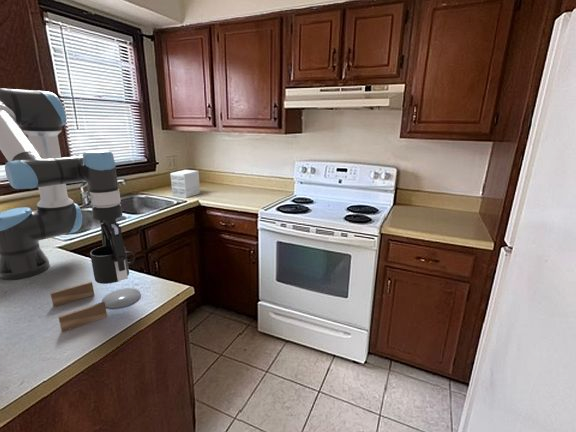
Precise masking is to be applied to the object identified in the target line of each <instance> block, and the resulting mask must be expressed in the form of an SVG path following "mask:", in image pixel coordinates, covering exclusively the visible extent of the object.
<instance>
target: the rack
mask: <svg viewBox="0 0 576 432" xmlns="http://www.w3.org/2000/svg"><path fill="white" fill-rule="evenodd" d="M94 295H95V291H94V286H93V281H87V282H83V283H81V284H77V285H73V286H70V287H66V288H63V289H58V290H56V291H55V290H54V291H52V292H50V299H51V302H52V307H53V308H55V306H56V307H58V306H62V305H65V304H68V303H71V302H75V301H79V300H81V299H85V298H88V297H91V296H94ZM78 299H79V300H78ZM57 317H58V322H59V326H60V330H61V333H64V332H67V331H69V330H73V329H75V328H78V327H81V326H84V325H86V324H89V323H93V322H96V321H98V320H101V319H104V318H107V317H108V313H107V307H106V306H105V302H102V301H101V302H99V303H95V304H92V305H89V306H86V307H83V308H80V309H77V310H74V311H71V312H67V313H64V314H61V315H59V316H57Z"/></svg>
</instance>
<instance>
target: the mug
mask: <svg viewBox="0 0 576 432" xmlns="http://www.w3.org/2000/svg"><path fill="white" fill-rule="evenodd" d="M124 247H125V245H124ZM125 252H126V256H127V255H130V256H131V261H128V258H127V259H126V260H125V263H126V269H127V276H129V275H130V269H129V266H131V264H132V265H133V264H134V262H135V261H136V256H135V253H133V251H130V250H129V251H127V250H126V247H125ZM89 253H90V254H89V256H90V261H91V265H92V271H93V277H94V281H95V282H96V283H97V284H102V285H106V284H107V285H108V284H114V283H117V282H119V281H118V280H117V274H116V268H115V262H113V260H115V257H114V253H113V250H112V246H111V245H106V246H103V245H102V246H100V247H99V246H98V247H97V248H94V249H92V250H91V251H90V252H89Z"/></svg>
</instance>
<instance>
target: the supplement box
mask: <svg viewBox="0 0 576 432" xmlns="http://www.w3.org/2000/svg"><path fill="white" fill-rule="evenodd" d="M199 173H200V172H199V170H193V169H182V170H178V171H174V172H170V174H169V175H170V182H171V193H172V197H173V198H182V199H187V198H190V197H191V198H192V197H194V196H196V195H199V194H201V188H200V187H201V185H200V174H199Z"/></svg>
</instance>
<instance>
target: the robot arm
mask: <svg viewBox="0 0 576 432" xmlns="http://www.w3.org/2000/svg"><path fill="white" fill-rule="evenodd" d="M66 123H67V114H66V111H65V108H64V105H63V103H62V101H61V100H60V98H59V96H57V95H56V94H55V93H53V92H51V91H45V90H33V89H31V90H29V89H18V88H16V89H15V88H14V89H13V88H4V87H3V88H1V87H0V151H1V153H2V154H3V156H4V157H5V160H6V161H7V162H5V165H4V170H5V171H4V172H5V175H6V178H7V181H8V183H9V185H10V186H11V187H12V188H13V189H16V190H24V189H25V190H26V189H31V190H32V189H35V188H37V189H38V192H39V197H40V200H39V201H37V203H36V209H31V208H30V207H27V206H26V207H25V206H23V207H14V208H11V209H7V210H4V211H1V212H0V279H1V280H7V281H9V280H10V281H11V280H20V279H25V278H29V277H33V276H36V275H38V274H41V273H43V272H45V271H46V270H48V269H49V267H51V264H50V260H49V258H48V257H47V256H46V254H45V253H44V251H43V249H42V248H41V246H40V242H39V241H43V240H48V239H52V238H55V237H60V236H66V235H69V234H73V233H75V232H78V231H79V230H80V229H81V227H82V224H83V215H82V211H81V207H80V206H79V204H77V203H75V202H74V200H73V199H72V198H70V197H69V196H68V189H67V184H73V183H81V182H82V183H83V182H87V187H88V192H89V194H90V195H87V199H90V203H91V204H90V205H92V207H91V210H92V217H93V219H94V220H97V221H99V224H100V232H101V233H100V234H101V242H102V246H106V245H111V246H112V250H113V253H114V257H115V260H113V262H115V268H116V274H117V280H118V282H121V281H124V280H128V278H129V277H128V276H129V275H128V276H127V269H126V263H125V260H126V259H127V260H128V257H127V256H126V252H125V248H126V247H124V246H125V244H124V238H123V236H122V235H123V234H122V227H121V226H120V224H119V223H118V222H117V219H119V218H121V217H122V216H123V208H122V205H121V202H122V201H121V195H120V189H119V183H118V175H117V169H116V165H117V164H116V162H115V158H114V154H113V152H112V151H110V150H88V151H85V152H83V154H80V155H79V154H76V155H72V156H63V157H62V155H61V148H60V141H59V136H58V135H59V134H60V133H61V132H62V131H63V130H62V127H63V126H65V125H67V124H66Z"/></svg>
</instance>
